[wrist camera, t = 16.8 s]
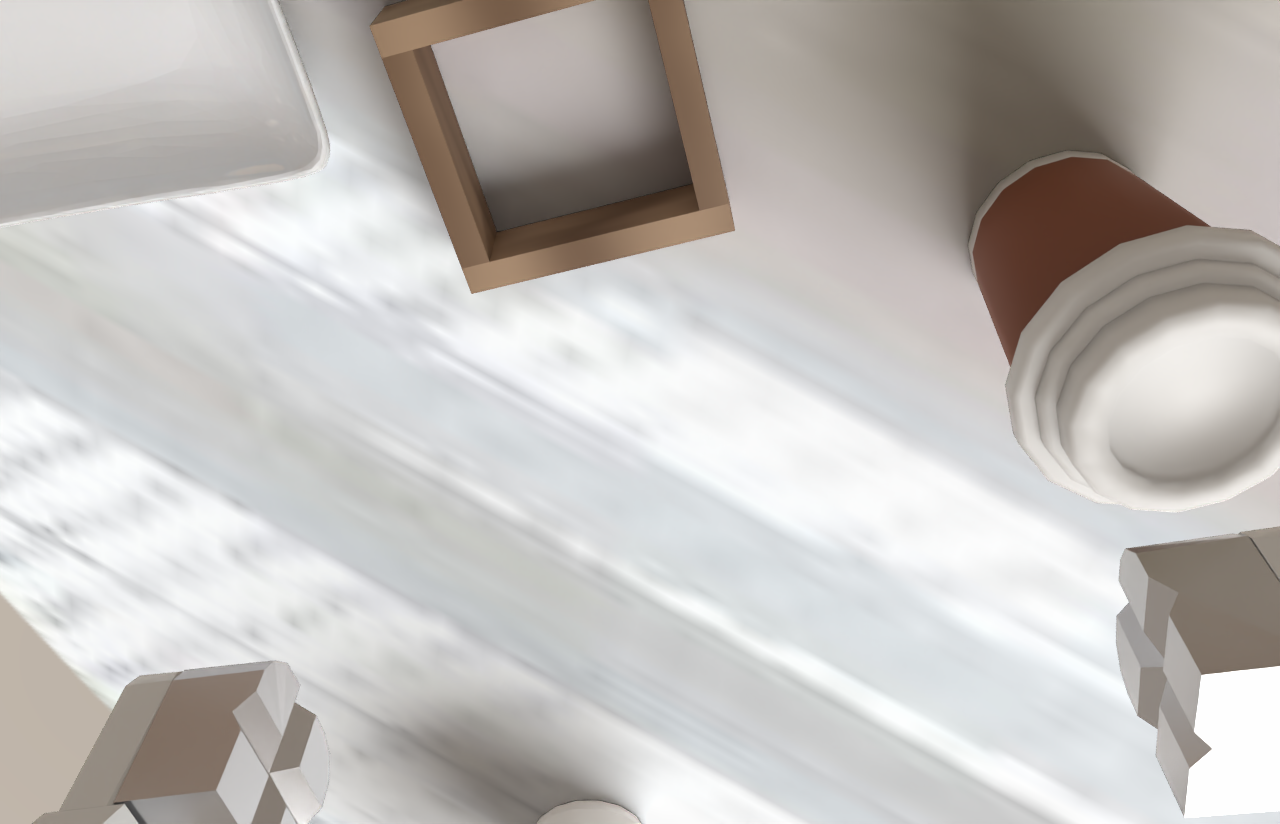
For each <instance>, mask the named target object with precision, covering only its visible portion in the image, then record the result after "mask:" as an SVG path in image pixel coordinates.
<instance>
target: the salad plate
mask: <svg viewBox="0 0 1280 824" xmlns="http://www.w3.org/2000/svg"><path fill="white" fill-rule="evenodd" d="M329 156H330V143H329V138H328V134H327V130H326V127H325V124H324V121H323V118H322V115H321V112H320V109H319V107H318V104H317V101H316V98H315V95H314V92H313V89H312V86H311V84H310V81H309V78H308V76H307V73H306V70H305V68H304V65H303V63H302V60H301V57H300V55H299V52H298V49H297V47H296V44H295V42H294V39H293V37H292V34H291V32H290V29H289V27H288V24H287V22H286V19H285V17H284V14H283V11H282V9H281V6H280V3H279V1H278V0H0V228H2V227H7V226H13V225H18V224H24V223H30V222H35V221H41V220H47V219H52V218H58V217H64V216H70V215H76V214H82V213H89V212H95V211H100V210H106V209H112V208H118V207H124V206H131V205H137V204H144V203H151V202H157V201H163V200H170V199H176V198H183V197H190V196H197V195H205V194H211V193H218V192H223V191H228V190H235V189H242V188H249V187H255V186H261V185H266V184H272V183H278V182H283V181H288V180H293V179H298V178H302V177H306V176H309V175H311V174H314V173H317V172H319V171H321V170H322V169H323V168H324V167H326V165H327V162H328V159H329Z"/></svg>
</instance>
